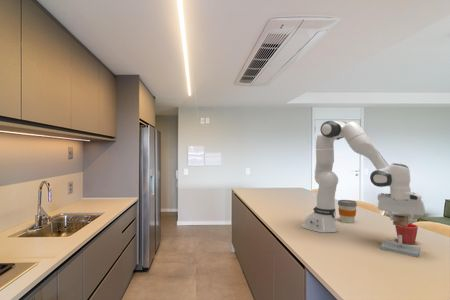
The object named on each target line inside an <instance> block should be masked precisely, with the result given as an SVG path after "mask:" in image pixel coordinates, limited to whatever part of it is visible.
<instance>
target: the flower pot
mask: <svg viewBox="0 0 450 300" xmlns="http://www.w3.org/2000/svg"><path fill="white" fill-rule="evenodd" d="M394 226H395V230H396V236H397V238H398V235H402V244H405V245H414V244H415V243H416V240H417V239H416V238H417V234H418V229H419V227H418V225H416V224H413V223H409V222H408V226H400V225H394Z"/></svg>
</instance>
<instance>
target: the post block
mask: <svg viewBox="0 0 450 300" xmlns="http://www.w3.org/2000/svg"><path fill="white" fill-rule="evenodd" d="M397 241H398V242H396V241H390V240H383V242H382V243H381V244H380V245H379V247H380V250H384V251H388V252H391V253H392V252H393V253H398V254H402V255H406V256H411V257H416V258H419V256H420V251H421V246H414V245H411V244H406V243H402V235H398V237H397Z"/></svg>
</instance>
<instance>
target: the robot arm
mask: <svg viewBox="0 0 450 300" xmlns="http://www.w3.org/2000/svg"><path fill="white" fill-rule="evenodd" d="M343 138H344V139H345V141H346V142H347V145H348V146H349V147H350V148H351V150H352V151H353V152H354V153H356V154H358V155H362V156H363V157H366V158H367V159H368V160H370V162H371V164H372V165H373V166H374V167H375V169H376V170H373V171H372V172H371V173H370V177H369V179H370V183H372V184H373V186H375V187H379V188H384V187H389V193H384V192H383V193H382V192H380V193H379V194H378V195H377V201H378V203H377V204H378V205H377V208H378V210H379V211H382V212H387V214H388V216H389V217H390V220H391V221H393V216H394V215H392V213H400V214H407V215H409V216H410V217H408V223H409V224H412V220H413V218H414V216H415V215H416V216H424V215H425V214H426V209H425V204H424V201H423V200H422V195H421V194H419V193H417V192H416V193H415V192H412V191H411V187H410V184H411V172H410V168H409V166H407V165H406V164H402V163H391V164H389V163H387V161H386V160H385V158H384V157H383V156H382V155H381V153H380V152H379V151H378V149H377V148H376V147H375V145H374V144H373V143H372V141H371V139H370V138H369V136H368V135H367V133H366V132H365V130H364V129H363V127H361V126H360V124H359V123H357V122H356V121H348V122H345V121H341V120H328V121H327V120H326V121H324V122H323V123H322V124H321V126H320V133H319V134H318V135H317V136H316V140H315V159H316V160H315V171H314V181H315V182H316V183H317V184H318V190H317V194H316V206H315V207H313V209H312V210H313V212H312V213H310V214H309V215H308V216H306V218H304V219H305V220H304V223H302V224H301V228H303V229H306V230H309V231H314V232H318V233H336V232H338V229H337V228H338V227H337V223H336V204H335V203H336V192H337V185H339V184H338V183H339V177H338V175H337V174H336V173H335V172H334V171H333V166H334V162H335V152H334V151H335V149H334V148H335V147H334V144H335V143H334V142H335V141H336V140H337V141H338V140H340V139H343Z"/></svg>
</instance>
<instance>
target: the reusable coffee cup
mask: <svg viewBox="0 0 450 300" xmlns="http://www.w3.org/2000/svg"><path fill="white" fill-rule="evenodd" d="M357 204H358V203H357V201H355V200H350V199H339V200H338V202H337V205H338V214H339V219H340V222H342V223H344V224H354V223H355V217H356V215H357V214H356V213H357Z"/></svg>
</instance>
